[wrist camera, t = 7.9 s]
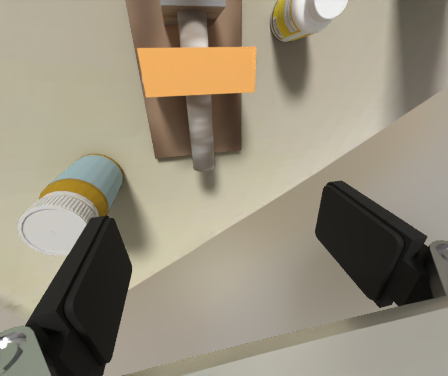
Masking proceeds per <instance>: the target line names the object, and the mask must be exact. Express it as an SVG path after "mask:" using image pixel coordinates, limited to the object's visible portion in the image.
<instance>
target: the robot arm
mask: <svg viewBox="0 0 448 376" xmlns="http://www.w3.org/2000/svg"><path fill="white" fill-rule="evenodd" d="M315 234H316V237H317V238H318V240H319V241H320V242H321V243H322V244H323V245H324V247H325V248H326V249H327V250H328V251H329V253H330V254H331V255H332V256H333V257H334V259H336V261H337V262H338V263H339V264H340V266H341V267H342V268H343V269H344V270H345V272H346V273H347V274H348V275H349V276H350V277H351V279H352V280H353V281H354V282H355V283H356V285H357V286H358V287H359V288H360V289H361V290H362V291H363V293H364V294H365V295H366V296H367V297H368V298H369V299H371V300H373V301H374V302H375V303H376V304H377V306H378V307H379V308H381V307H385V306H389V305H392V303H393V301H394V302H395V303H396V304H397V305H398V307H395V308H390V309H386V310H382V311H378V312H374V313H370V314H365V315H361V316H357V317H353V318H349V319H345V320H341V321H336V322H332V323H328V324H324V325H320V326H316V327H312V328H308V329H304V330H300V331H296V332H292V333H288V334H284V335H279V336H275V337H271V338H267V339H263V340H260V341H255V342H252V343H247V344H244V345H239V346H235V347H231V348H227V349H223V350H219V351H215V352H212V353H208V354H204V355H200V356H196V357H192V358H188V359H184V360H180V361H176V362H172V363H168V364H164V365H160V366H156V367H152V368H149V369H145V370H141V371H138V372H134V373H130V374H127V375H123V376H448V241H443V240H441V241H434V242H432V243H431V244H430V245H429V247H428V246H426V245H425V244H424V242H425V241H426V239H427V236H426V235H424V234H423V233H421V232H420V231H418V230H417V229H415V228H414V227H412V226H410V225H409V224H408V223H406V222H404V221H403V220H401V219H400V218H398V217H397V216H395V215H394V214H392V213H391V212H389V211H388V210H386V209H384V208H383V207H381V206H380V205H378V204H377V203H375V202H374V201H372V200H371V199H369V198H368V197H366V196H365V195H363V194H361V193H360V192H358V191H357V190H355V189H353V188H352V187H351V186H349V185H348V184H346V183H345V182H343V181H335V182H329V183H327V185H326V186H325V187H324V188H323V192H322V198H321V203H320V208H319V213H318V219H317V224H316V229H315ZM131 274H132V265H131V262H130V259H129V256H128V254H127V251H126V249H125V246H124V243H123V241H122V238H121V235H120V233H119V230H118V228H117V225H116V222H115V220H114V219H113V218H109V217H108V216H107V215H106V216H99V217H92V218H91V219H90V220H89V221H88V223H87V225H86V226H85V228H84V230H83V231H82V233H81V235H80V236H79V238H78V239H77V241H76V243H75V244H74V246H73V248H72V249H71V251H70V253H69V254H68V256H67V257H66V259H65V261H64V262H63V264H62V266H61V267H60V269H59V271H58V272H57V274H56V276H55V277H54V279H53V280H52V282H51V284H50V285H49V287H48V289H47V290H46V292H45V294H44V295H43V297H42V298H41V300H40V302H39V303H38V305H37V307H36V308H35V310H34V312H33V313H32V315H31V317H30V318H29V320H28V322H27V323H26V325H25V326H19V327H13V328H10V329H8V330H5V331H3V332H1V333H0V376H102V375H103V373H104V369H105V365H106V363H109V362H110V360H111V358H112V355H113V351H114V347H115V342H116V338H117V333H118V330H119V325H120V321H121V317H122V312H123V308H124V304H125V299H126V295H127V291H128V287H129V283H130V278H131Z"/></svg>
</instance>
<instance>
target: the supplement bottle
mask: <svg viewBox="0 0 448 376" xmlns="http://www.w3.org/2000/svg"><path fill="white" fill-rule="evenodd" d="M347 2H348V0H278V1H277V2H276V3H275V5H274V7H273V9H272V13H271V19H270V23H271V29H272V31H273V33H274V35H275V36H276V38H278V39H279V40H281V41H283V42H290V41H294V40H297V39H300V38H302V37H305V36H308V35H311V34H314V33H317V32H319V31H321V30H322V29H324V28H325V27H326V26H327V25H328V24H329V23H330V21H331V20H332V19H334V18H336V17H337V16H338V15H340V14H341V12H342V11H343V10H344V8H345V7H346V5H347Z"/></svg>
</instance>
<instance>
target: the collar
mask: <svg viewBox="0 0 448 376" xmlns="http://www.w3.org/2000/svg"><path fill="white" fill-rule="evenodd" d="M137 52H138V57H139V62H140V68H141V73H142V79H143V84H144V89H145V95H146V97H166V96H186V95H206V94H227V93H247V92H255V73H256V47H184V48H137Z"/></svg>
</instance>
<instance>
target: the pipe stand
mask: <svg viewBox="0 0 448 376" xmlns="http://www.w3.org/2000/svg"><path fill="white" fill-rule="evenodd" d="M126 6H127V11H128V16H129V21H130V27H131V32H132V37H133V42H134V48H135V53H136V58H137V63H138V69H139V74H140V79H141V85H142V90H143V95H144V100H145V106H146V111H147V116H148V121H149V127H150V132H151V137H152V143H153V148H154V153H155V158H166V157H177V156H187V155H192V159H193V168H194V170H196V171H209V170H212V169H214V168H215V159H214V153H218V152H228V151H239V150H241V93H227V94H206V95H186V96H166V97H146V95H145V89H144V84H143V79H142V73H141V68H140V62H139V57H138V52H137V48H184V47H242V0H126Z"/></svg>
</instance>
